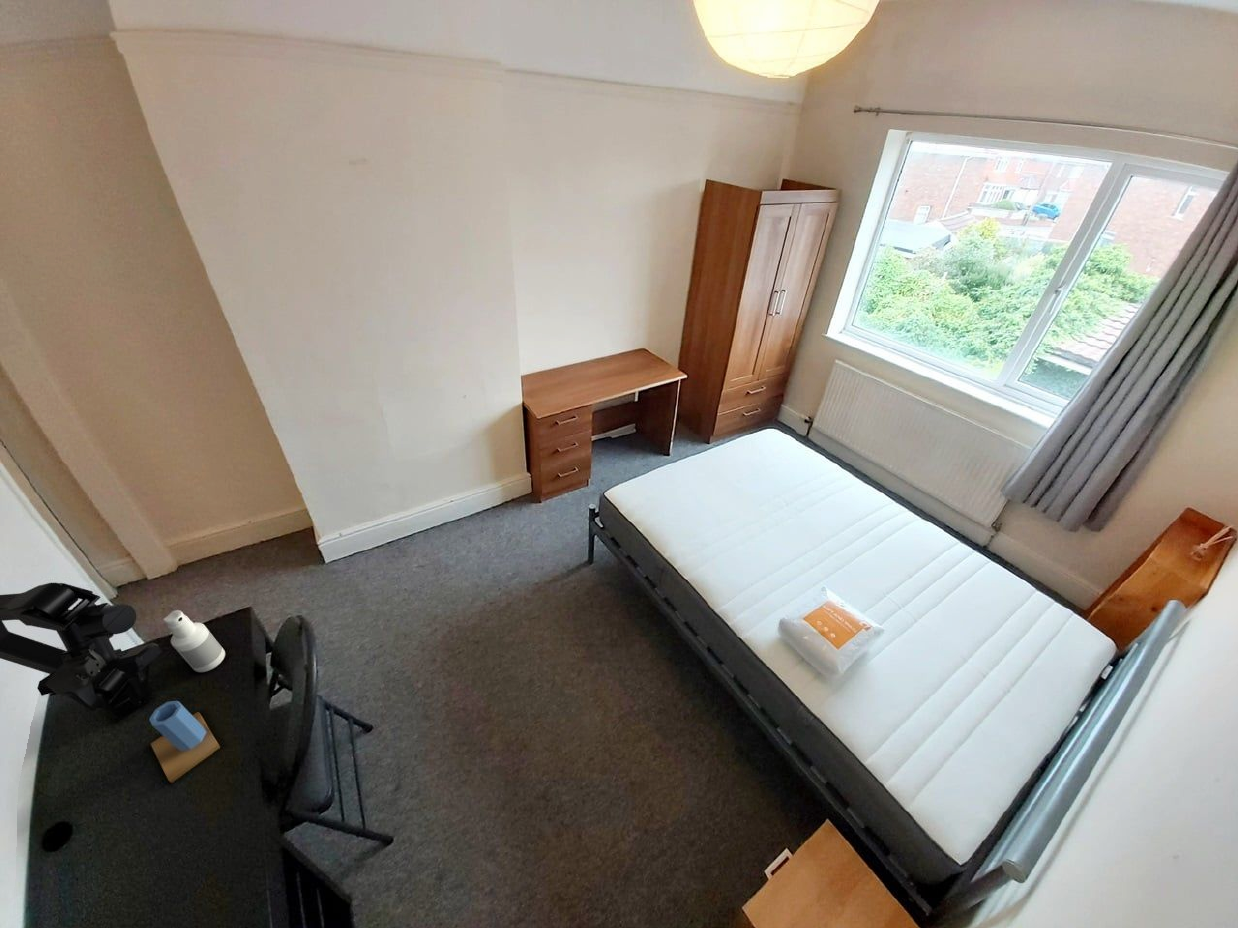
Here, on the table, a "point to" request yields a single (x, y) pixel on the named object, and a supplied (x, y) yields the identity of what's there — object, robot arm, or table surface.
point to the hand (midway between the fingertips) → (119, 702)
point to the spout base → (183, 753)
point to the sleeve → (178, 725)
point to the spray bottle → (194, 642)
